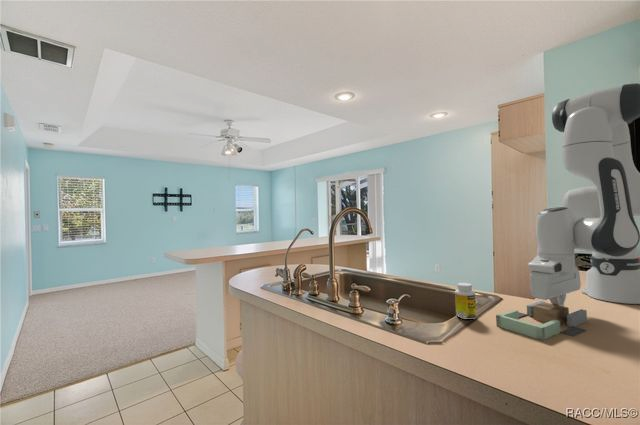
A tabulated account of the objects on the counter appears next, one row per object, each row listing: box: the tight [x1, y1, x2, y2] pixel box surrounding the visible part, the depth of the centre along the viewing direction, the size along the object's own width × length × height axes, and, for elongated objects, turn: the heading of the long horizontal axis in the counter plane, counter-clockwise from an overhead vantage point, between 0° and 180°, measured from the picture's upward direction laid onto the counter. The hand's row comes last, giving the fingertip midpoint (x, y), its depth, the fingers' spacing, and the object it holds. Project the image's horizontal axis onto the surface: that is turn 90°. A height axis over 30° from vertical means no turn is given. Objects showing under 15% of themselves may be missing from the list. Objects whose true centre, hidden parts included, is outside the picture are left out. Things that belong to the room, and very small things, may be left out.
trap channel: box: [495, 300, 588, 341], centre depth 83 cm, size 23×17×3 cm
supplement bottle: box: [454, 282, 477, 320], centre depth 90 cm, size 6×6×10 cm
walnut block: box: [532, 301, 570, 325], centre depth 85 cm, size 6×6×4 cm
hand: (558, 309), depth 88 cm, fingers closed
